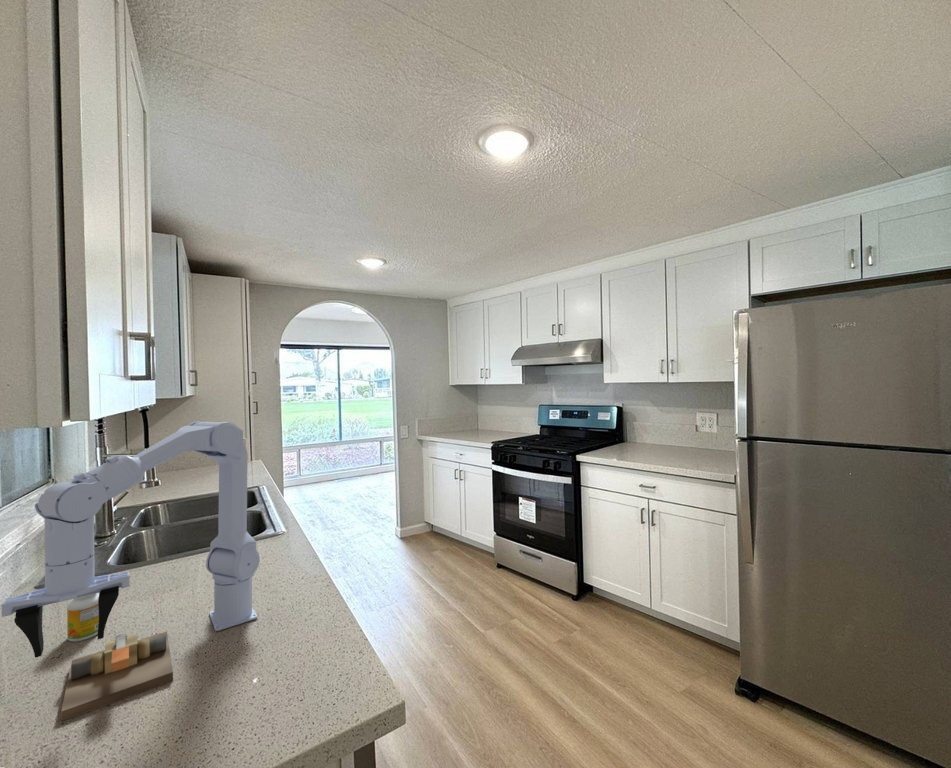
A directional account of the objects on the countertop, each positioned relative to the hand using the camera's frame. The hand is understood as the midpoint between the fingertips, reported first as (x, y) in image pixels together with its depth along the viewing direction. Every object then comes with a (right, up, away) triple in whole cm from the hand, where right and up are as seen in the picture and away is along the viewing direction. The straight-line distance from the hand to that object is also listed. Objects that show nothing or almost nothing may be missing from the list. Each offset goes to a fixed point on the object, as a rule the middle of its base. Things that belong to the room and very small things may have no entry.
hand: (71, 644), depth 67 cm
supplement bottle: (-17, -11, +21) cm, 29 cm away
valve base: (0, -10, +9) cm, 14 cm away
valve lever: (+3, -5, +6) cm, 8 cm away
